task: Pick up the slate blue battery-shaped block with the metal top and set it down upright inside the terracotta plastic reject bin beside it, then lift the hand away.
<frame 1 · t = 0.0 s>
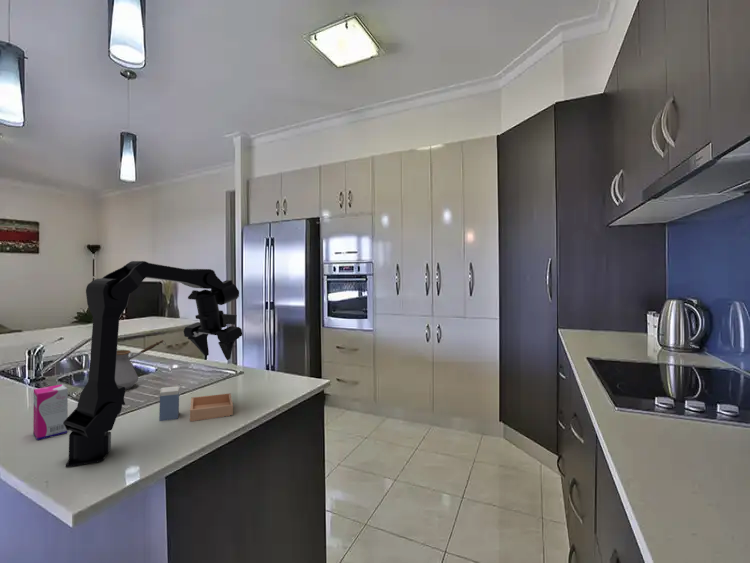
hand: (217, 357, 109), 15 cm above the counter, tool pointing down, fingers open, 9 cm apart
coffee pot: (134, 385, 128), on the counter
reject bin: (211, 411, 106), on the counter
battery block: (169, 416, 101), on the counter
supplement box: (50, 434, 89), on the counter
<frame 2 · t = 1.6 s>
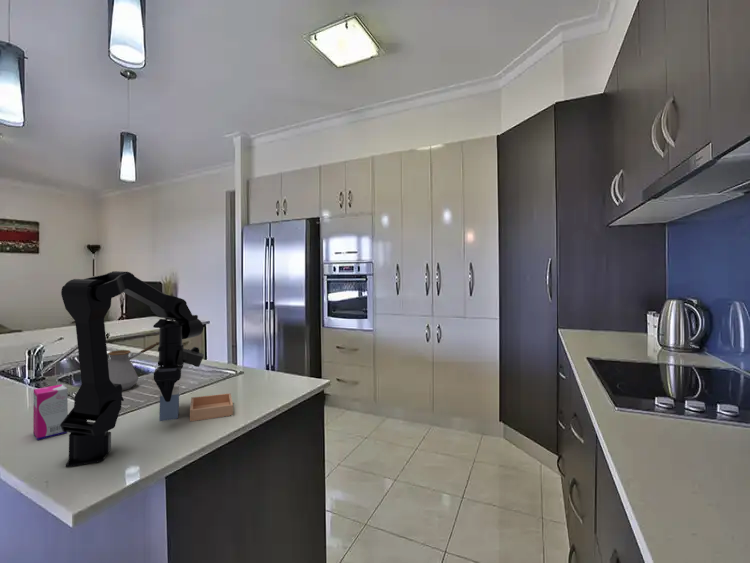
hand: (169, 396, 101), 6 cm above the counter, tool pointing down, fingers open, 9 cm apart
nothing on the counter moved.
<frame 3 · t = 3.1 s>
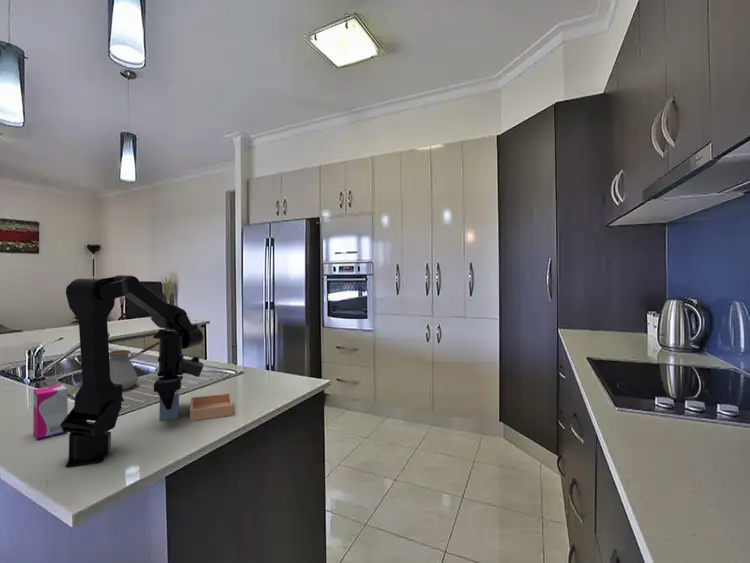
hand: (169, 406, 101), 3 cm above the counter, tool pointing down, fingers closed on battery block, 4 cm apart
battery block: (169, 416, 101), on the counter, touching gripper
everything else where it was.
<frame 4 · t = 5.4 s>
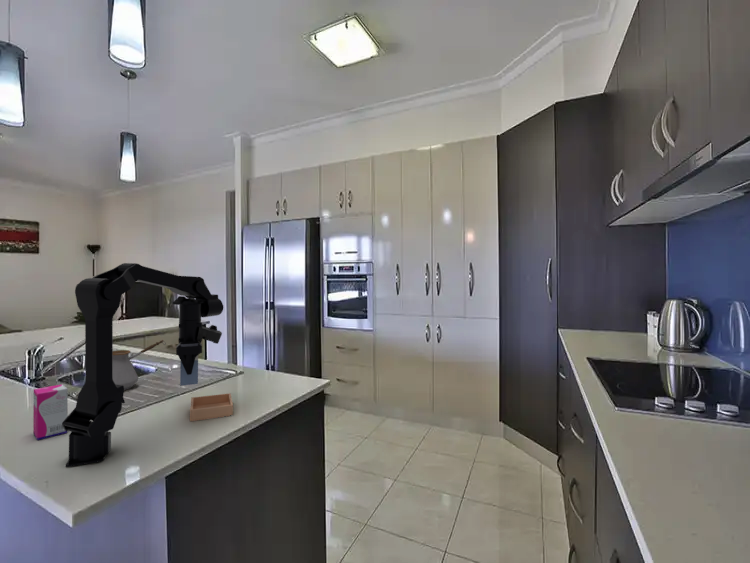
hand: (189, 372, 104), 12 cm above the counter, tool pointing down, fingers closed on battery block, 4 cm apart
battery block: (189, 382, 104), point 9 cm above the counter, touching gripper
everything else where it was.
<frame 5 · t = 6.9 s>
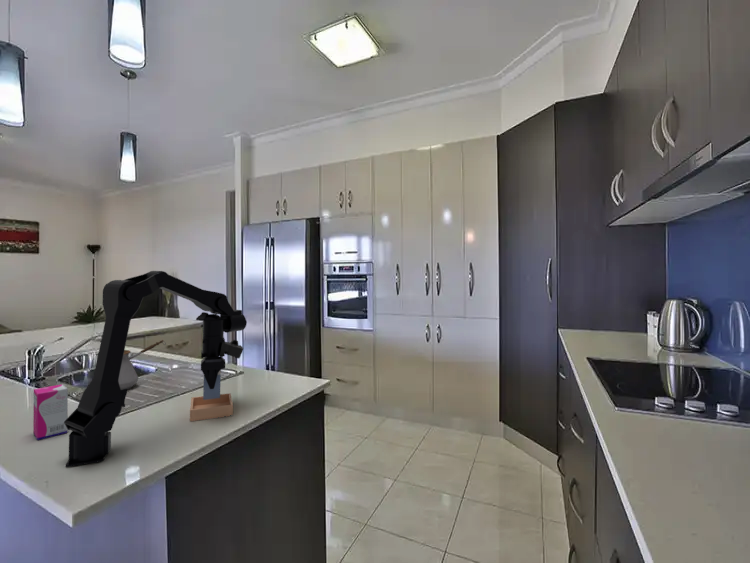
hand: (211, 386, 106), 8 cm above the counter, tool pointing down, fingers closed on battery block, 4 cm apart
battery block: (211, 396, 106), point 5 cm above the counter, touching gripper
everything else where it was.
when the fingers open (5 cm above the counter, at t = 8.2 s): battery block drops 2 cm, resting on reject bin.
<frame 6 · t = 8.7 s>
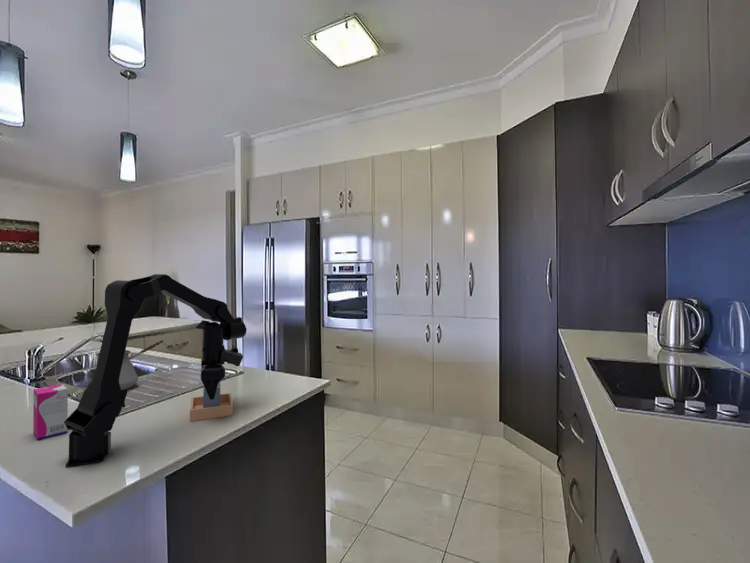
hand: (211, 394, 106), 5 cm above the counter, tool pointing down, fingers open, 9 cm apart
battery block: (211, 409, 106), point 1 cm above the counter, touching reject bin
everything else where it was.
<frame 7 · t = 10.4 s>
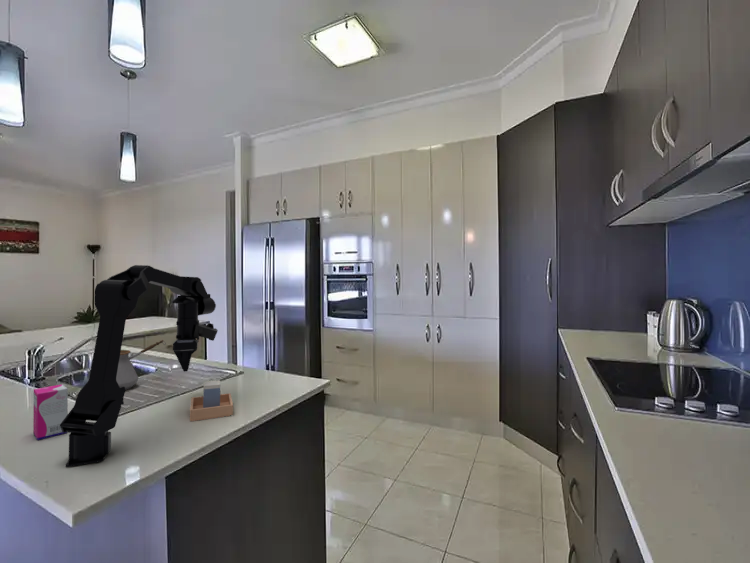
hand: (186, 367, 109), 12 cm above the counter, tool pointing down, fingers open, 9 cm apart
nothing on the counter moved.
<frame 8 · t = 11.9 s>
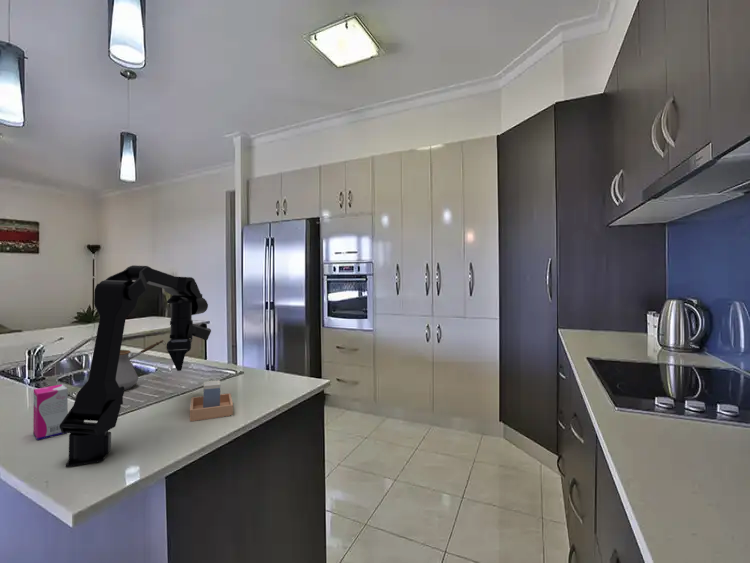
hand: (180, 366, 110), 12 cm above the counter, tool pointing down, fingers open, 9 cm apart
nothing on the counter moved.
at the end: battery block 0.0 cm off-centre on the reject bin, point 0.6 cm above the reject bin's base; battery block tilted 0°; the gripper is holding nothing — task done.
